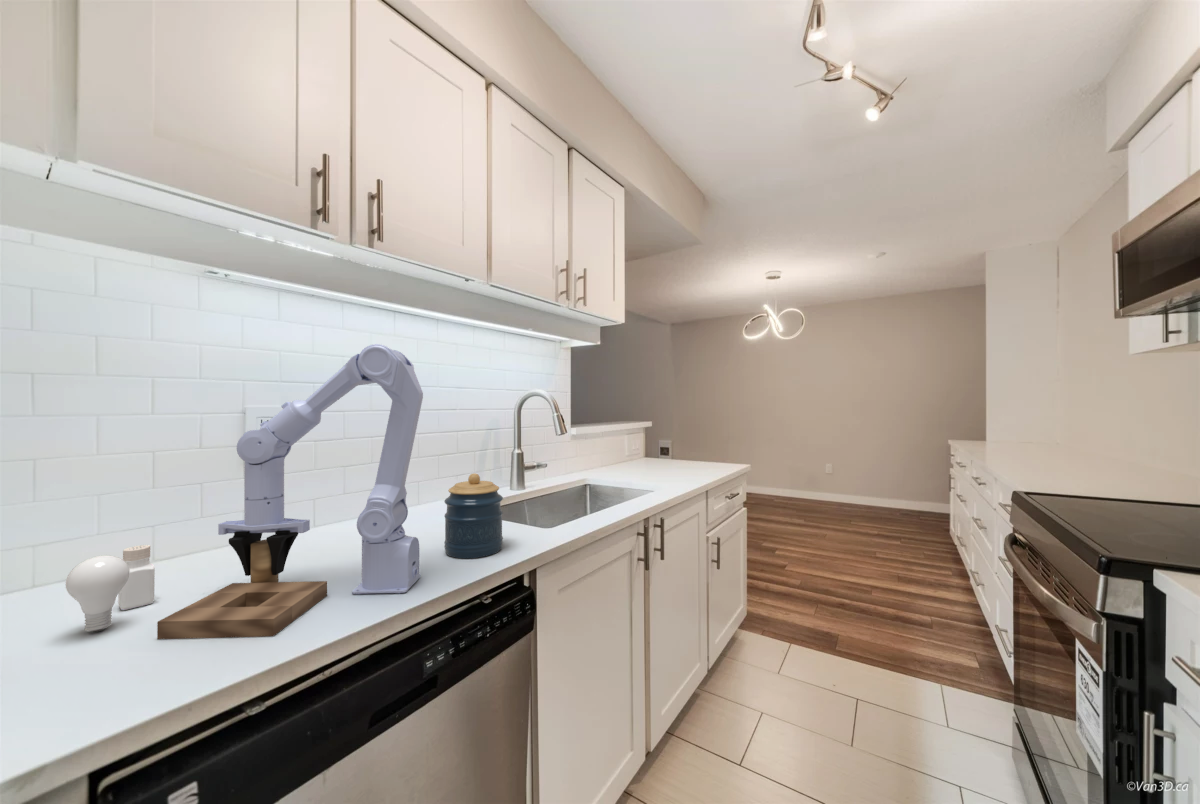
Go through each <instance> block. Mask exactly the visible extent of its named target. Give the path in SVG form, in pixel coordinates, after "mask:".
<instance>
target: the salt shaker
mask: <svg viewBox="0 0 1200 804" xmlns="http://www.w3.org/2000/svg"><path fill="white" fill-rule="evenodd" d="M150 558H151V545H149V544H143V545H142V544H141V545H134V546H129V547H126V548H124V549H123V550H122V559H123V560H124V561H125V562H126V563H127V564H128V566H129V570H130V575H129V578H128V581H127V582H126V584H125V585H124V587H123V588H122V589H121V590H120V592H119V593H118V595H117V598H118V599H117V600H118V601H117V602H118V606H119V609H120V610H121V611H127V610H131V609H135V608H139V607H144V606H147V605H151V604H153V603H154V602H155V579H156V578H155V574H156V573H155V571H156V570H155V565H154V563H151V562H150Z"/></svg>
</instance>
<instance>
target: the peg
mask: <svg viewBox="0 0 1200 804" xmlns="http://www.w3.org/2000/svg"><path fill="white" fill-rule="evenodd" d="M266 582H279V574H277V575H272V571H271V553H270V549H269V545H268V542H267V538H266V539H261V540H260V541H256V542H253V543H251V575H250V583H266Z"/></svg>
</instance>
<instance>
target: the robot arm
mask: <svg viewBox="0 0 1200 804" xmlns="http://www.w3.org/2000/svg"><path fill="white" fill-rule="evenodd" d="M369 384H372V385H373V384H377V385H379V386H380V387H381V388H382V390H383V391H384V392H385V393H386V394H387V395H388V396H389V398H390V399H391V406H390V410H389V415H388V420H387V424H386V428H385V430H386V431H385V434H384V439H383V445H382V447H381V448H382V449H381V453H380V454H381V455H380V458H379V462H378V463H379V464H378V468H377V474H376V477H375V483H374V486H373V488H372V489H371V492H370V494H369V495H368V497H367V501H366V505H365V507H364V509H363V510H362V511H361V513H359V515H358V517H357V520H356V529H357V532H358V533H359V535H360V536H361V583H359V584H358V585H357V586H356V587H355V588H353V589H352V590H351V594H355V595H358V594H360V595H361V594H394V593H395V594H398V593H399V594H400V593H403V594H404V593H406V592H408V591H409V590H410V588H412V586H413V585H414V584H415V583H417V581H418V580H419V579H420V578H421V573H420V540H419V538H418V537H416V536H409V535H407V534H406V531H405V529H404V527H403V524H404V523H405V522H406V521H407V517H408V514H409V511H408V509H409V508H408V506H407V503H406V498H407V494H408V492H407V489H406V483H407V482H406V481H407V477H408V471H409V466H410V462H411V458H412V457H411V456H412V452H413V447H414V442H415V439H416V432H417V429H418V423H419V419H420V413H421V409H422V403H423V399H424V391H423V390H422V387H421V384H420V382H419V380H418V377H417V375H416V373H415V367H414V364H413V363H412V362H411V361H410V360H409V358H408V357H407V356H406V355H405V354H404V353H403V352H401V351H398V350H395V349H392V348H390V347H388V346H387V345H384V344H382V343H381V344H380V343H374V344H370V345H367V346H365V347H364V348H363V349H362V350H361V351H360V352H359V353H356V354H354V355H353V356H351V357H350V359H349V360H348V361H347V362H346V363H345V364H344V365H343V366H342V367H341V368H340V369H339V370H338V371H337V372H335V373H334V374H333V375H332V376H331V377H329V378H328V379H327V381H325V382H324V383H323V384H322V385H321V386H320V387H319V388H317V389H316V390H315V391H313V393H312V394H310V395H309V396H308V397H307V398H306V399H294V400H292V401H285V402H284V403H283V404H282V405H281V408H282V409H281V410H280V411H279V412H277V414H274V416H272V417H271V418H270V419H269V420H264V421H262V422H261V423H260V424H259V425H260V429H252V430H250V429H249V430H247V431H245V432H244V433H243V434H242V435H241V436H240V438H239V439H238V440H237V443H236V451H237V454H238V456H239V458H240V459H241V460H242V461H244V462H243V463H244V467H243V468H244V470H243V471H244V475H243V476H244V477H243V479H244V484H243V486H244V487H243V489H244V493H243V494H244V495H243V496H244V497H243V498H244V499H243V500H244V510H243V511H244V512H243V513H244V519H241V520H226V521H224V522H220V523H218V524H217V525H218V526H217V527H218V528H217V529H218V530H217V532H218V534H217V535H219V536H221V535H222V536H223V535H227V534H233V535H232V537H230V538H229V539H228V544H229V545H230V546H231V548H232V549H233V550H234V552H235V553H236V554H237V556H238V558H239V561H240V563H241V566H242V568H243V572H244V575H245V576H246V577H248V576H251V543H253V542H256V541H260V540H262V536H263V534H265V533H267V534H269V533H270V534H272V535H269V536H267V537H266V539H267V542H268V545H269V549H270V553H271V571H272V575H277V574H278V575H279V574H280V573H283V572H284V571H285V570H284V569H285V565H286V562H287V559H288V555H289V553H290V551H291V548H292V546H293V544H294V543H295V540H296V539H297V537H299V536H298V535H299V534H304V533H306V532H308V531H310V530H311V529H310V526H311V525H310V523H311V521H310V519H299V518H289V517H285V459H286V457H287V456H288V455H289V454H290V452H291V449H292V446H293V445H294V444H296V443H297V442H298V441H300V439H302V438H303V437H304V436H306V435H307V434H308V433H309V432H311V430H313V429H314V428H315V427H317V426H318V425H319V424H320V423H321V419H322V413H323V412H324V411H325V410H326V409H328V408H329V407H331V406H332V405H333V404H335V403H337V402H338V400H340V399H342V397H344V396H346V395H347V394H348V393H349V392H351V391H352V390H354V389H355V388H356V387H358V386H364V385H369ZM273 533H274V534H273Z"/></svg>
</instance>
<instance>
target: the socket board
mask: <svg viewBox="0 0 1200 804" xmlns="http://www.w3.org/2000/svg"><path fill="white" fill-rule="evenodd" d="M327 596H328V581H327V580H325V581H324V580H323V581H278V582H266V583H251V582H233V583H230V584H228V585H225V586H224V587H222V588H221V589H218V590H216V591H215V592H212V593H211V594H208V595H206V596H204V597H203V598H201V599H199V600H196V601H194V602H193V603H190V604H189V605H187V606H185V607H183V608H181V609H179V610H177V611H174V613H171V614H170V615H168V616H166V617H164V618H162V619H160V620H158V621H157V624H156V625H157V626H156V627H157V629H156V630H157V637H156V638H157V640H176V639H177V640H179V639H182V640H183V639H214V638H215V639H217V638H218V639H220V638H251V637H252V638H256V637H258V638H260V637H274V636H276V635H277V634H278V633H280V632H281V631H283V630H284V629H285V628H287V627H288V626H289V625H290V624H292V623H293V622H295V621H296V620H297V619H298V618H300V617H301V616H302V615H303V614H305V613H306V612H308V611H309V610H310V609H312V607H314V606H316V605H317V604H318V603H319V602H321V601H322V600H324V599H325V598H326V597H327Z"/></svg>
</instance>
